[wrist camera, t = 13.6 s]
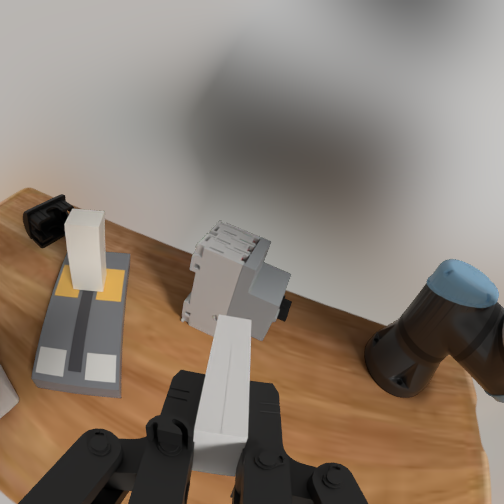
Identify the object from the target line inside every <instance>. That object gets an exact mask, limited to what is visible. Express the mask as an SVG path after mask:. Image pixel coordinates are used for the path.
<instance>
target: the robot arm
mask: <svg viewBox="0 0 504 504" xmlns="http://www.w3.org/2000/svg"><path fill="white" fill-rule="evenodd" d="M498 296H499V292H498V290H497V288H496V286H495V285H494V283H492V282H491V281H490V279H489V278H488V277H487V276H486V275H485V274H483V273H482V272H481V271H479V270H478V269H476V268H475V267H473V266H471V265H470V264H468V263H465V262H463V261H459V260H456V259H449V260H445V261H443V262H442V263H441V264H440V265H439V266H438V268H437V269H436V271H435V272H434V273H433V274H432V275H431V276H430V277H429V278H428V279H427V283H426V285H425V286H424V287H423V289H422V290H421V291H420V293H419V294H418V295H417V297H416V298H415V299H414V300H413V302H412V303H411V304H410V306H409V307H408V308H407V309H406V311H405V312H404V313H403V314H402V316H401V317H400V318H399V319H398V320H396V321H394V322H393V323H391V324H389V325H388V326H386V327H384V328H383V329H381V330H379V331H378V332H376V333H375V334H374V335H373V337H372V338H371V339H370V340H369V341H368V343H367V345H366V348H365V361H366V365H367V367H368V370H369V372H370V374H371V375H372V377H373V378H374V380H375V381H376V382H377V383H378V384H379V385H380V386H381V387H382V388H383V389H384V390H386V391H387V392H389V393H390V394H392V395H395V396H398V397H403V398H408V397H413V396H415V395H417V394H418V393H419V392H420V391H422V390H423V389H424V388H425V387H426V386H427V385H428V383H429V382H430V380H431V378H432V376H433V375H434V373H435V371H436V369H437V368H438V366H439V364H440V362H441V361H442V360H443V359H444V358H445V357H446V356H447V355H449V354H450V355H451V356H452V357H453V358H454V359H455V360H456V361H457V362H458V363H459V364H460V365H461V366H462V367H463V368H464V369H465V370H466V371H467V372H468V373H469V374H470V375H471V376H472V377H473V378H474V379H475V380H476V381H477V382H478V384H479V385H480V386H482V388H483V389H484V391H485V392H486V393H487V394H488V395H490V396H492V397H493V398H494V399H495V400H496V401H499V402H502V403H504V308H503V307H502V306H501V305H500V304H499V303H498V302H497V300H498ZM250 353H251V320H250V319H243V318H237V317H231V316H226V315H220V314H219V316H218V321H217V325H216V330H215V334H214V339H213V343H212V348H211V352H210V357H209V361H208V366H207V371H206V375H205V374H200V373H195V372H190V371H185V370H180V371H179V372H178V373H177V374H176V375H175V376H174V377H173V379H172V382H171V385H170V388H169V391H168V394H167V397H166V399H165V402H164V405H163V408H162V412H161V415H159V416H155V417H154V418H152V419H151V420H149V422H148V423H147V425H146V433H147V436H146V437H144V438H140V439H118V438H117V437H116V436H115V435H114V434H113V433H112V432H110V431H107V430H105V429H92V430H88V431H87V432H85V433H84V434H82V436H81V437H80V438H79V439H78V440H77V441H76V442H75V443H74V444H73V445H72V446H71V447H70V448H69V450H68V451H67V452H66V453H65V454H64V455H63V456H62V457H61V458H60V459H59V460H58V461H57V462H56V464H55V465H54V466H53V467H52V468H51V469H50V470H49V471H48V472H47V473H46V474H45V475H44V476H43V477H42V479H41V480H40V481H39V482H38V483H37V484H36V485H35V486H34V487H33V488H32V489H31V490H30V491H29V493H28V494H27V495H26V496H25V497H24V498H23V499H22V500H21V501H20V502H19V503H18V504H121V502H122V501H123V499H124V498H125V496H126V495H127V494H128V492H129V491H132V493H131V496H130V499H129V503H128V504H187V498H188V492H189V486H190V477H191V471H192V470H194V471H200V472H206V473H212V474H219V475H227V476H235V474H236V478H235V486H234V488H233V491H232V493H231V496H230V497H232V504H368V502H367V500H366V499H365V497H364V495H363V493H362V491H361V490H360V488H359V486H358V484H357V482H356V480H355V479H354V477H353V475H352V473H351V472H350V471H349V470H348V468H346V467H345V466H343V465H341V464H337V463H325V464H323V465H320V466H319V467H318V468H316V467H313V466H309V465H305V464H302V463H299V462H297V461H295V460H293V459H292V458H290V457H289V456H288V455H287V454H286V452H285V450H284V448H283V442H282V429H281V416H280V406H279V404H280V403H279V393H278V391H277V390H276V388H275V387H274V385H273V384H272V383H263V382H255V381H250Z"/></svg>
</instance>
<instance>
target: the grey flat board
mask: <svg viewBox="0 0 504 504" xmlns="http://www.w3.org/2000/svg"><path fill="white" fill-rule="evenodd" d="M105 254H106V272H107V275H106V280H105V285H104V290H103V292H98V291H87V290H77V289H73V284H72V278H71V272H70V266H69V259H68V252H67V254H66V256H65V259H64V262H63V264H62V267H61V270H60V273H59V275H58V278H57V281H56V284H55V287H54V290H53V293H52V296H51V299H50V303H49V306H48V309H47V313H46V316H45V320H44V324H43V327H42V331H41V335H40V339H39V343H38V348H37V352H36V357H35V362H34V367H33V372H32V378H31V379H32V380H33V382H34V383H35V384H36V386H37V387H39V388H45V389H50V390H56V391H62V392H69V393H76V394H84V395H93V396H102V397H114V398H121V369H122V344H123V328H124V315H125V304H126V294H127V285H128V277H129V269H130V254H126V253H114V252H105Z"/></svg>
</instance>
